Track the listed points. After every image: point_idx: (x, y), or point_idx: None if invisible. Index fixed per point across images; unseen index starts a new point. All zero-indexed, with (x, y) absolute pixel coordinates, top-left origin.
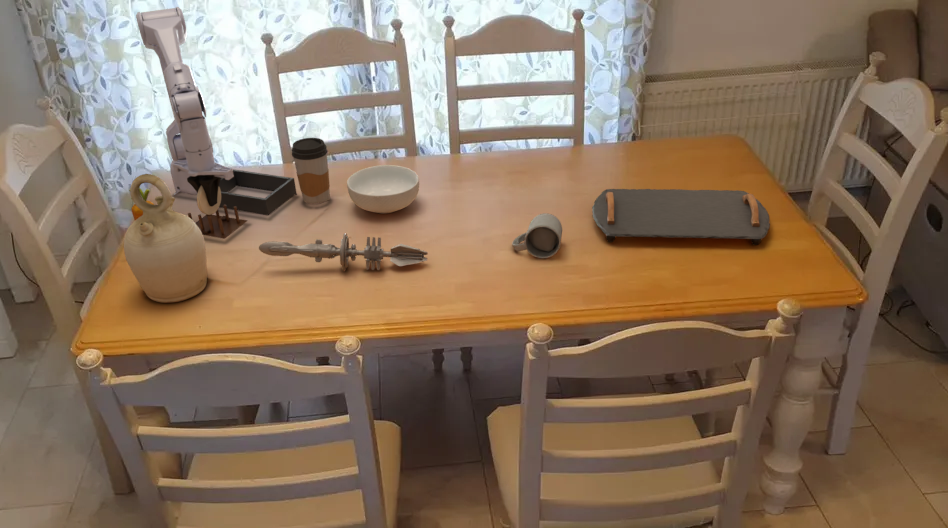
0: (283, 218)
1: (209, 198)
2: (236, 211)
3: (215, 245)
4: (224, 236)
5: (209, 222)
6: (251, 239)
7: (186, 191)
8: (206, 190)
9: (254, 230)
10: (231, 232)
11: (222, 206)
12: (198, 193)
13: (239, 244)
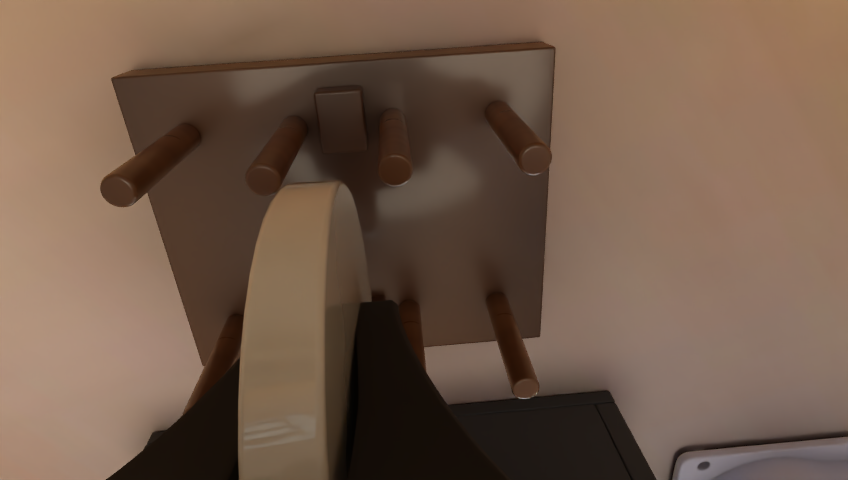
0: (93, 468)
1: (233, 370)
2: (197, 385)
3: (178, 3)
4: (144, 109)
5: (269, 144)
6: (10, 200)
7: (828, 478)
8: (171, 477)
9: (115, 306)
10: (153, 188)
11: (493, 431)
12: (291, 355)
13: (15, 99)
